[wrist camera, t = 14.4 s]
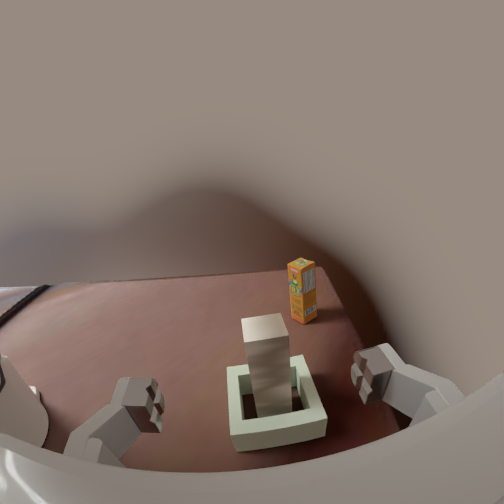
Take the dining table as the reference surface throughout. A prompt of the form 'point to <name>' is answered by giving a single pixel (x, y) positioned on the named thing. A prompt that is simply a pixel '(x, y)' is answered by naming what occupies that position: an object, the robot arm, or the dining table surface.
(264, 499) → the robot arm
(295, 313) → the supplement box
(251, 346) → the peg
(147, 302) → the dining table surface
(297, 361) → the block
